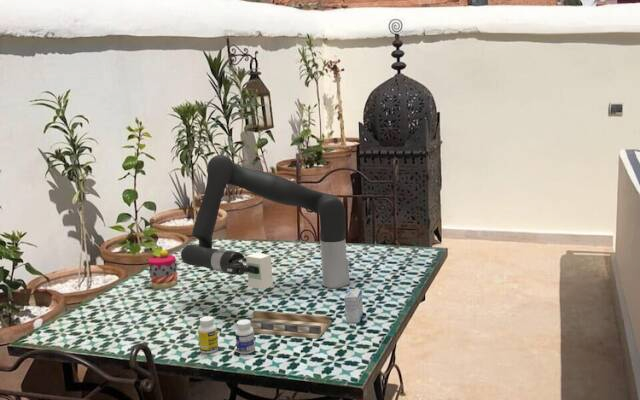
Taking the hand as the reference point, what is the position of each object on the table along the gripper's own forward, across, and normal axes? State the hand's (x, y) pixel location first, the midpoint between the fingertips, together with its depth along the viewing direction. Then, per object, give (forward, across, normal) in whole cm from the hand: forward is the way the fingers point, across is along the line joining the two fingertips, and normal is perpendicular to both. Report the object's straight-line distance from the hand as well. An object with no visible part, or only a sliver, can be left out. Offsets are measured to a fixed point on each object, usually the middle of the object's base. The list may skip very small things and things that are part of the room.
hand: (263, 268), depth 212 cm
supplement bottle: (0, -24, +19) cm, 31 cm away
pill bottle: (+9, -18, +19) cm, 28 cm away
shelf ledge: (+7, +1, +18) cm, 20 cm away
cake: (-64, +7, +17) cm, 66 cm away
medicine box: (+21, +18, +19) cm, 33 cm away
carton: (-2, 0, +6) cm, 6 cm away
